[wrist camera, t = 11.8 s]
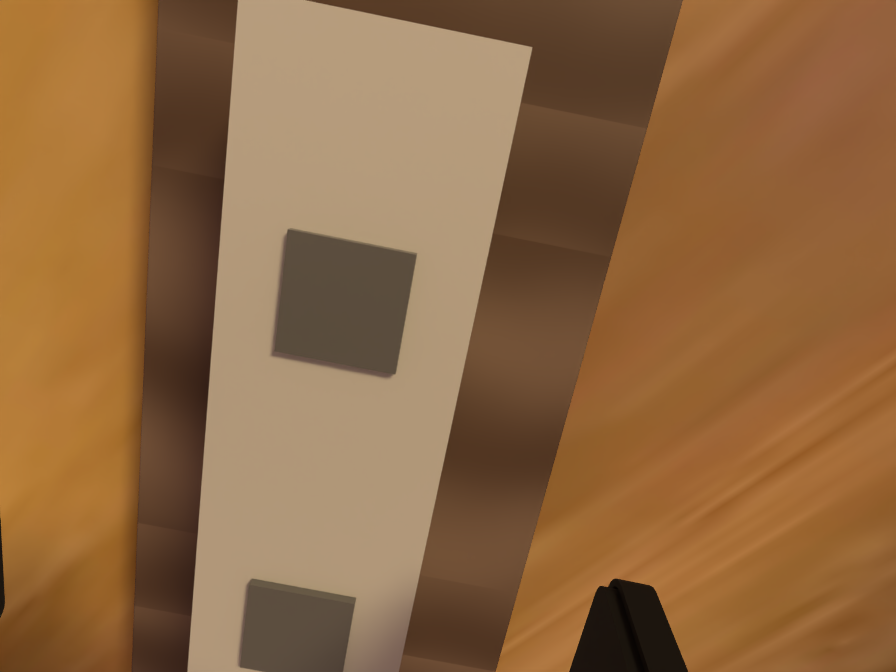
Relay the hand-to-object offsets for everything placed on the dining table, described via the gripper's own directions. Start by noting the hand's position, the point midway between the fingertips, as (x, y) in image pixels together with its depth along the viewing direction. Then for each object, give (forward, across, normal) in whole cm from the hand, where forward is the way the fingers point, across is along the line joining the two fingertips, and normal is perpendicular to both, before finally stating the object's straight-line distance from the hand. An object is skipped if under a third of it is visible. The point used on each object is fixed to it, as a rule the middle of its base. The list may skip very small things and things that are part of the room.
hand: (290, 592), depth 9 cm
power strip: (+10, +1, 0) cm, 10 cm away
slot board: (+10, +1, 0) cm, 10 cm away
